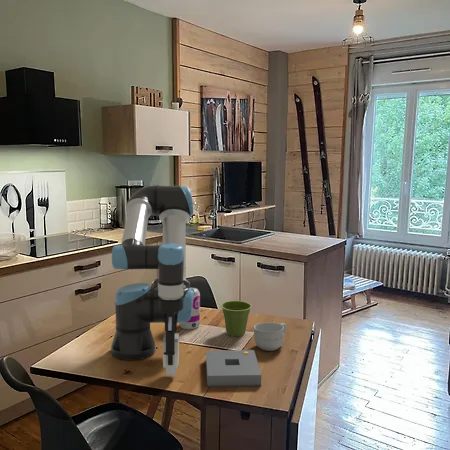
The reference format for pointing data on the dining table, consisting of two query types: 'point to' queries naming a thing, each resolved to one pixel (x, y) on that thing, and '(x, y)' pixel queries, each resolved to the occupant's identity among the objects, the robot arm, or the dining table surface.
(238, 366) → the plate
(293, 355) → the dining table surface
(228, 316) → the plant pot
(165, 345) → the plug
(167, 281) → the robot arm
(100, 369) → the dining table surface
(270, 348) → the teacup
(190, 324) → the supplement can
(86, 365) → the dining table surface
